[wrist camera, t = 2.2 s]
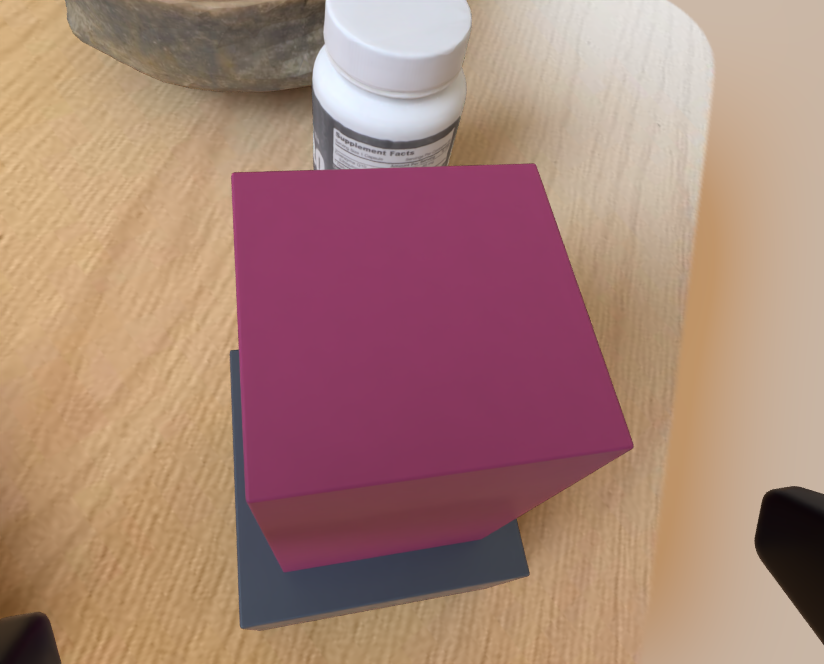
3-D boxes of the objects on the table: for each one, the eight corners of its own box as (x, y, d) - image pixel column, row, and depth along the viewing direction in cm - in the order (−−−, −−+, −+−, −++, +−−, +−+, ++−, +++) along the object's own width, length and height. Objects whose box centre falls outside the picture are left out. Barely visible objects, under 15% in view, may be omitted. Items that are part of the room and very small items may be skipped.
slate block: (486, 588, 17) (531, 575, 13) (257, 631, 16) (239, 629, 12) (443, 382, 20) (470, 327, 16) (246, 404, 18) (229, 349, 15)
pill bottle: (331, 150, 24) (336, -67, 17) (442, 178, 24) (497, -25, 17) (298, 240, 22) (288, 34, 14) (421, 270, 22) (474, 82, 14)
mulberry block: (482, 539, 14) (636, 448, 7) (283, 572, 13) (244, 503, 6) (444, 362, 16) (536, 162, 9) (269, 379, 15) (230, 171, 8)
